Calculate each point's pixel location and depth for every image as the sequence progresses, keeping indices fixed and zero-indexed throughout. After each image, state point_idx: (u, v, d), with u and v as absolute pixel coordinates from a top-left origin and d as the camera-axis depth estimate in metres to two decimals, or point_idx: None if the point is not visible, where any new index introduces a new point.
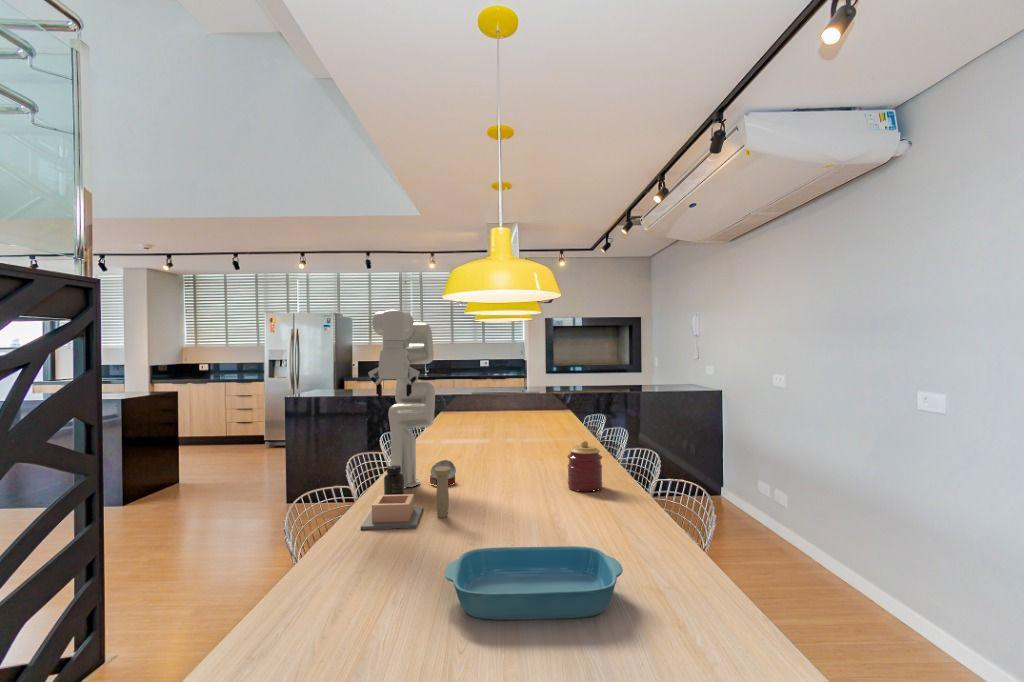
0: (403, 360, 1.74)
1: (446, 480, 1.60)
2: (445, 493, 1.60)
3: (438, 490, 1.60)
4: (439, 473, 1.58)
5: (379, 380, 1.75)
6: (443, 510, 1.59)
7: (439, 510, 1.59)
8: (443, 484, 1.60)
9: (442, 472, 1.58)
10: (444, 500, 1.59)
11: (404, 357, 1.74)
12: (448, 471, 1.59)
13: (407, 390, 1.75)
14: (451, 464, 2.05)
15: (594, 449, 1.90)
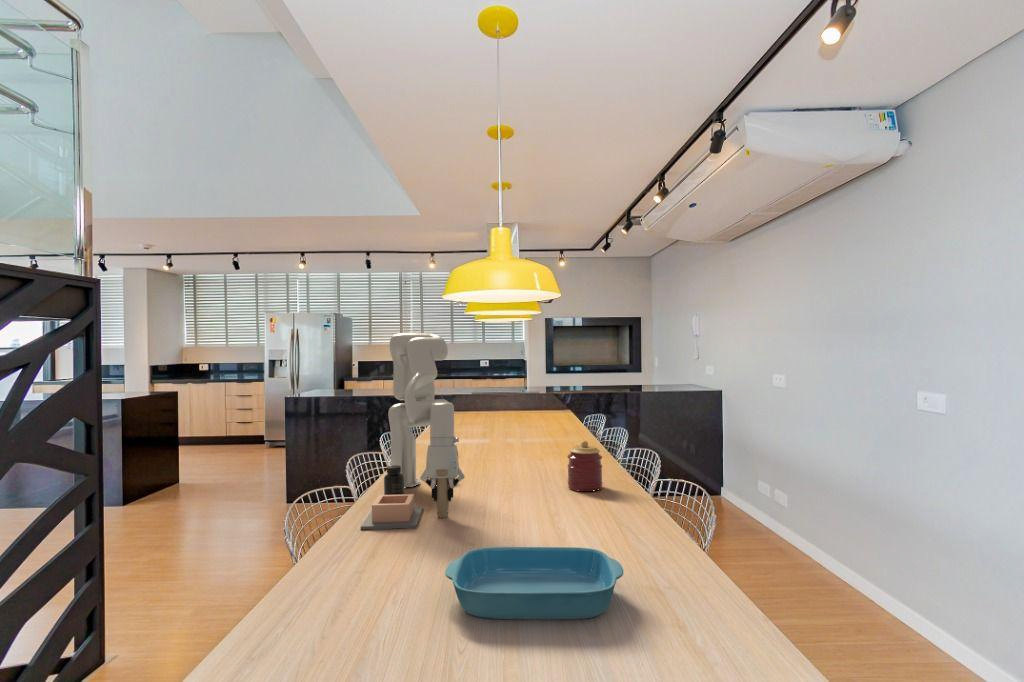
0: (453, 458, 1.59)
1: (446, 480, 1.60)
2: (445, 493, 1.60)
3: (438, 490, 1.60)
4: (439, 473, 1.58)
5: None
6: (443, 510, 1.59)
7: (439, 510, 1.59)
8: (443, 484, 1.60)
9: (442, 472, 1.58)
10: (444, 500, 1.59)
11: (454, 455, 1.59)
12: None
13: (449, 495, 1.60)
14: None
15: (594, 449, 1.90)
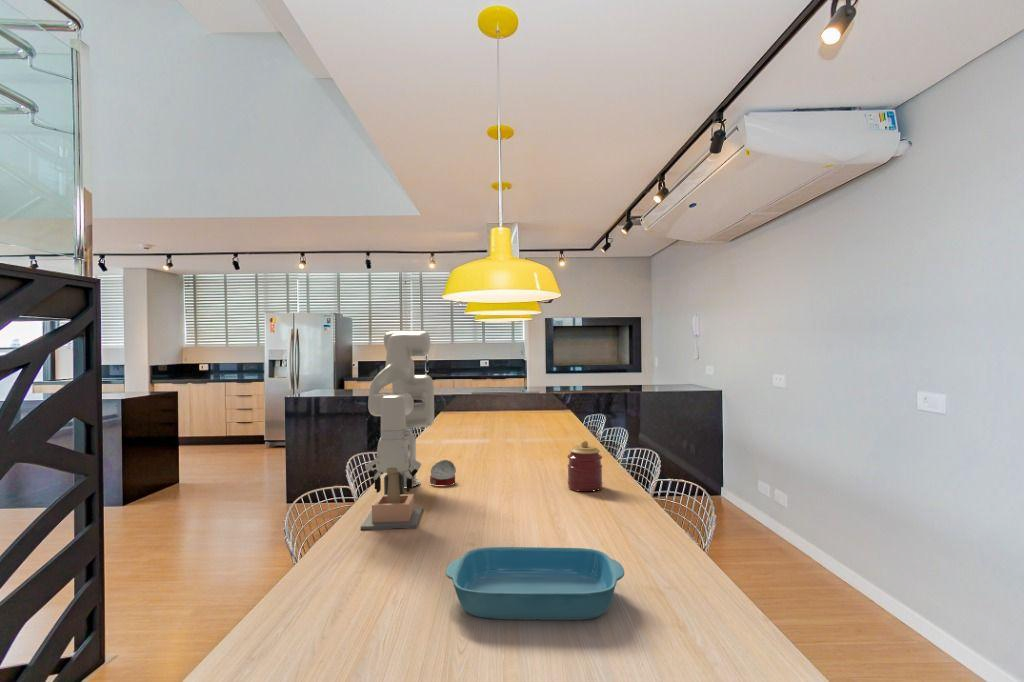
0: (404, 452, 1.57)
1: (397, 478, 1.59)
2: (396, 491, 1.58)
3: (389, 488, 1.58)
4: (389, 471, 1.57)
5: (378, 474, 1.58)
6: None
7: None
8: (394, 482, 1.58)
9: (392, 470, 1.57)
10: (394, 498, 1.58)
11: (405, 448, 1.58)
12: None
13: (407, 485, 1.58)
14: (451, 464, 2.04)
15: (594, 449, 1.90)
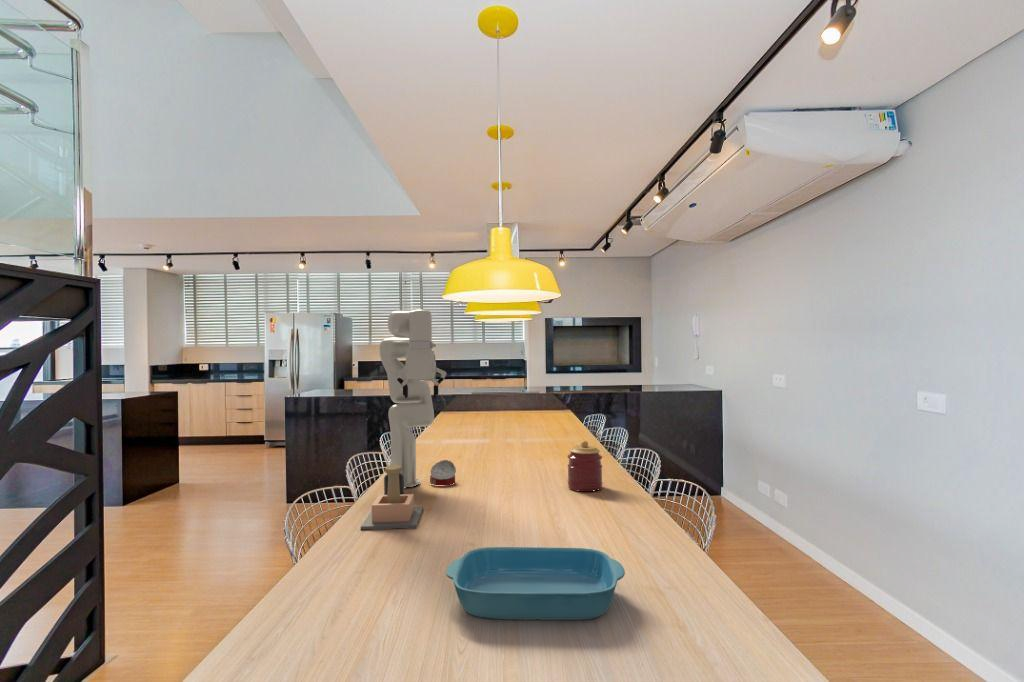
0: (430, 361, 1.71)
1: (397, 479, 1.59)
2: (396, 491, 1.58)
3: (389, 489, 1.58)
4: (389, 472, 1.56)
5: (406, 381, 1.72)
6: None
7: None
8: (394, 483, 1.58)
9: (392, 471, 1.56)
10: (394, 499, 1.57)
11: (431, 358, 1.72)
12: (399, 470, 1.58)
13: (434, 391, 1.72)
14: (451, 464, 2.04)
15: (594, 449, 1.90)
